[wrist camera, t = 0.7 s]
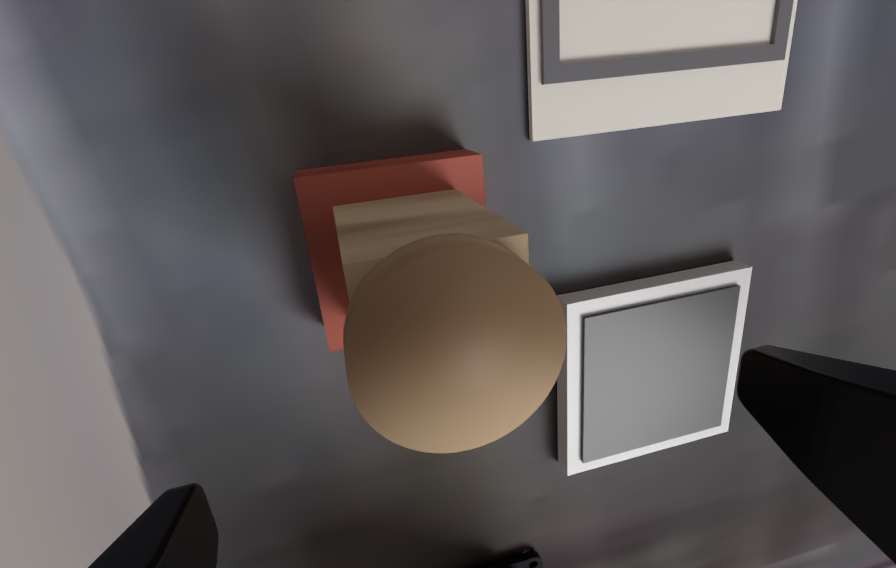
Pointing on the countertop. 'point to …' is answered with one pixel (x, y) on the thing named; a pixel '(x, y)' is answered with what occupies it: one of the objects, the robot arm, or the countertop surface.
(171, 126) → the countertop surface
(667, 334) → the ink pad
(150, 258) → the countertop surface
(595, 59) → the print sheet
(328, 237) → the stamp
